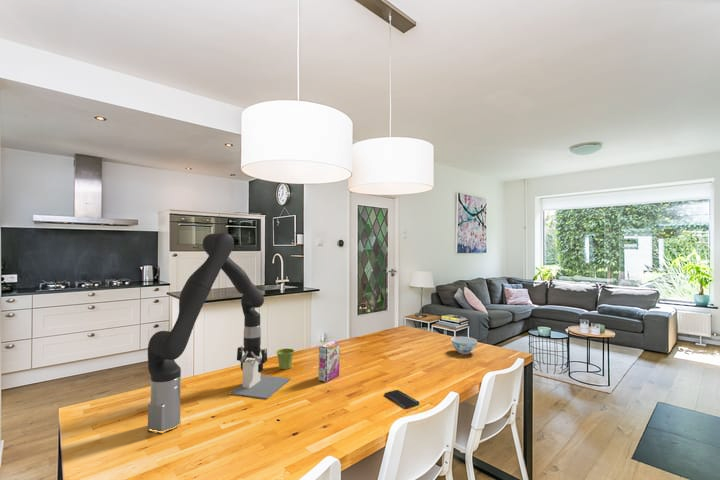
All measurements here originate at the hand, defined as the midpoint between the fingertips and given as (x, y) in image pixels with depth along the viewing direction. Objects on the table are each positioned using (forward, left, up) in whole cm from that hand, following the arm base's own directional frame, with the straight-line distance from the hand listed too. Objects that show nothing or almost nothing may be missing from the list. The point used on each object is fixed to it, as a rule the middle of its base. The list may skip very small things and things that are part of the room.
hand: (251, 370), depth 159 cm
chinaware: (+78, -95, -7) cm, 123 cm away
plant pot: (+25, -4, -7) cm, 26 cm away
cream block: (0, 0, -6) cm, 6 cm away
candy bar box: (+18, -31, -7) cm, 37 cm away
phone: (+4, -68, -7) cm, 68 cm away
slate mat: (0, -5, -7) cm, 8 cm away
